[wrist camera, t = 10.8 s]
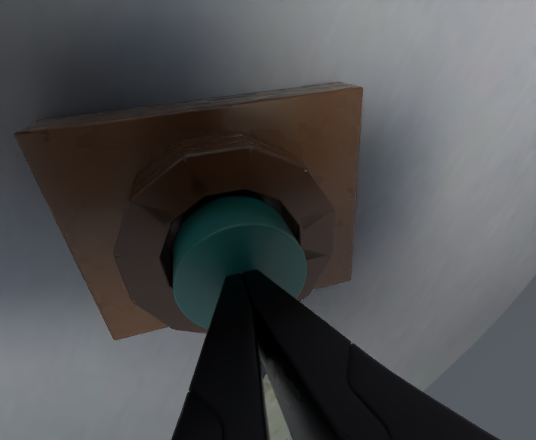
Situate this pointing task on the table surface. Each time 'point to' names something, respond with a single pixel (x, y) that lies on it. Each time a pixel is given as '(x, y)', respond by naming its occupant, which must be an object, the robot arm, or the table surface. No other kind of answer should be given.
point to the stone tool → (274, 414)
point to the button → (232, 253)
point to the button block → (196, 187)
